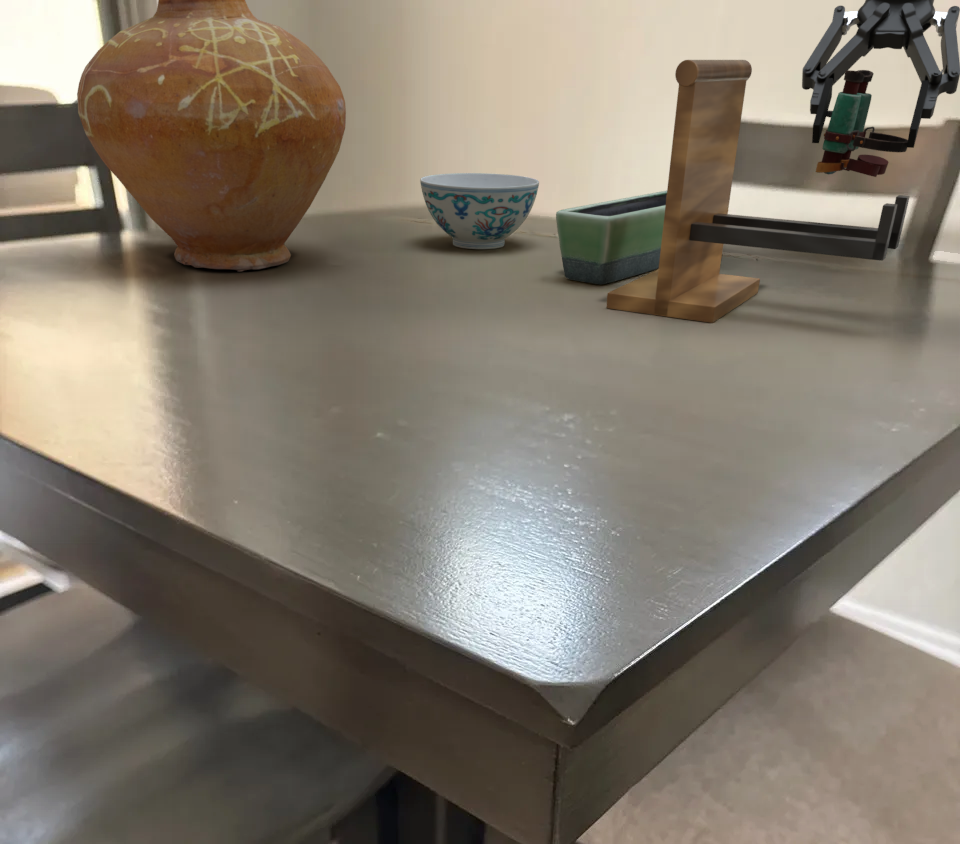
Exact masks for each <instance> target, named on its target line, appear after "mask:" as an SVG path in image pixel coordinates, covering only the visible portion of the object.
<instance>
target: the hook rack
mask: <svg viewBox="0 0 960 844" xmlns="http://www.w3.org/2000/svg"><path fill="white" fill-rule="evenodd" d="M752 72H753V68H752V64H751V63H750V62H749V61H748V60H746V59H684V60H683V61H681V62H679V63H678V65H677V66H676V68H675V73H674V74H675V75H674V76H675V77H674V78H675V80H676V82H677V84H678V89H677V97H676V98H677V99H676V106H675V115H674V116H675V118H674V126H673V135H672V144H671V153H670V160H669V162H670V163H669V171H668V180H667V189H666V191H667V197H666V206H665V215H664V224H663V233H662V243H661V252H660V261H659V269H656V270H653V271H650V272H648V273H647V274H645V275H643V276H641V277H638V278H637V279H634V280H632V281H630V282H628V283H626V284H623V285H621V286H619V287H616V288H615V289H613V290H611V291H609V292H607V294H606V295H607V296H606V309H611V310H617V311H623V312H631V313H639V314H644V315H652V316H660V317H665V318H666V317H667V318H673V319H681V320H682V319H683V320H689V321H695V322H703V323H710V324H711V323H712V324H713V323H715V322H716V321H718V320H719V319H721V318H722V317H724V316H725V315H727V314H729V313H730V312H731V311H734V309H736V308H737V307H739V306H741V305H742V304H744V303H745V302H747V301H748V300H750V299H751V298H753V297H755V295H757V294H758V293H759V288H760V281H761V278H757V277H750V276H742V275H735V274H734V275H732V274H726V273H725V274H724V273H720V271H721V265H722V264H721V263H722V257H723V250H724V245H730V246H740V247H748V248H749V247H750V248H759V249H769V250H778V251H789V252H797V253H807V254H815V255H826V256H834V257H843V258H853V259H862V260H872V261H873V260H874V261H884V260H885V259H886V257H887V255H888V249H890V250H896V249H897V248H898V247H899V245H900V241H901V236H902V231H903V227H904V223H905V219H906V218H905V217H906V215H907V210H908V206H909V202H910V197H911V196H910V195H906V194H905V195H903V194H899V195H897V196H896V197H895V201H894V203H884V204H883V205H882V207H881V208H882V209H881V212H880V217H879V222H878V225H877V227H870V226H860V225H859V226H857V225H847V224H837V223H828V222H815V221H806V220H795V219H794V220H793V219H784V218H783V219H782V218H772V217H762V216H751V215H742V214H741V215H739V214H729V207H730V206H729V205H730V200H731V193H732V187H733V186H732V185H733V179H734V171H735V167H736V158H737V151H738V144H739V138H740V137H739V136H740V129H741V123H742V115H743V109H744V101H745V94H746V88H747V87H746V86H747V81H748V80H749V79H750V78H751V76H752Z"/></svg>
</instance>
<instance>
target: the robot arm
mask: <svg viewBox="0 0 960 844" xmlns="http://www.w3.org/2000/svg"><path fill="white" fill-rule="evenodd" d="M934 2H935V0H864V3H863V4H862V5H861V6H860V7H859V8H858V10H853V11H846V7H845V6H844V5H837V6H836V7H835V8H834V10H833V14H832V21H831V22H830V24H829V26H828V27H827V29H826V30H825V32H824V34H823V35H822V37H821V39H820V40H819V42H818V44H816V46H815V48H814V50H813V51H812V53H811V55H810V56H809V57H808V59H807V61H806V62H805V64H804V65H803V67H802V73H801V74H802V75H801V76H802V77H801V88H802V89H803V90H806V91H807V90H810V89H812V94H811V97H810V100H809V101H810V102H809V113H810V115H815V117H814V120H813V123H812V136H811V137H812V138H811V144H820V141H821V137H822V133H823V129H824V126H825V123H826V119H827V117H826V114H827V111H829V108H830V105H831V101H832V98H833V86H834V85H835V84H836V83H837V82H839V80H840V79H841V78H843V76H845V72H846V71H848V70H850V69H851V68H852V67H853V66H854V65H855V64H856V63H857V62H858V61H859V60H860V59H861V58H862V57H863V58H864V57H866V56H867V55H868V54H869V53H870V52H871V51H872V50H881V49H888V48H889V49H893V50H904V52H905V54H906V57H907V58H909V59H910V60H911V61H910V62H911V63H912V65H913V67H914V69H915V72H916V74H917V77H918V78H919V81H920V83H921V84H920V87H919V91H918V96H917V100H916V104H915V108H914V111H913V115H912V119H911V123H910V127H909V130H908V138H907V140H908V143H907V149H908V148H909V149H911V148H914V147H915V145H916V140H917V136H918V133H919V129H920V124H921V121H922V119H926V120H927V119H930V120H931V118H932V117H933V116H934V113H935V109H936V108H935V107H936V104H937V102H938V101H937V100H938V98H939V96H940V95H942V94H943V93H946V94H948V95H953V94H955V93H956V92H957V90H958V86H959V81H960V53H959V43H958V34H957V26H958V22H959V17H960V6H958V5H952V6H951V7H949V8H948V11H936V8H935V5H934ZM854 25H855V26H856V27H857V30H856V33H855V34H854V35H853V37H851V38H850V39H849V40H848V42H846V44H844V45H843V46H842V48H840V50H839V51H837V52H836V54H835V55H834V52H835V51H836V50H837V48H838V47H839V44H840V42H841V40H842V37H843V36H846V35H847V34H848V32H849V31H850V29H851V28H852V27H853V26H854ZM932 26H934V28H935V32H936V33H937V36H938V37H941V38H940V53H941V61H942V62H941V63H942V69H941V70H940V68H939V66H938V64H937V61H936V59H935V57H934V55H933V53H932V50H931V48H930V46H929V44H928V42H927V39H926V37H925V35H924V33H925V32H926V31H927V30H929V29H930V28H931V27H932ZM831 57H832V58H831Z"/></svg>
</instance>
